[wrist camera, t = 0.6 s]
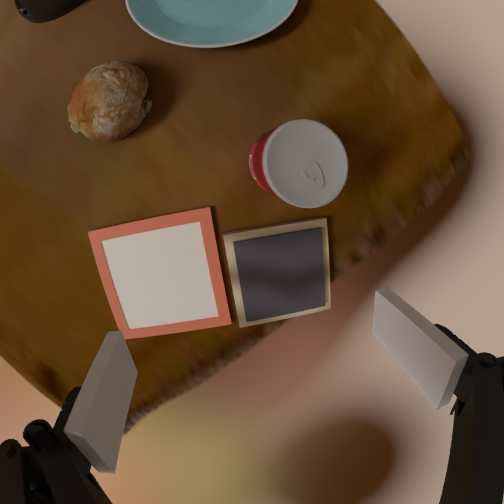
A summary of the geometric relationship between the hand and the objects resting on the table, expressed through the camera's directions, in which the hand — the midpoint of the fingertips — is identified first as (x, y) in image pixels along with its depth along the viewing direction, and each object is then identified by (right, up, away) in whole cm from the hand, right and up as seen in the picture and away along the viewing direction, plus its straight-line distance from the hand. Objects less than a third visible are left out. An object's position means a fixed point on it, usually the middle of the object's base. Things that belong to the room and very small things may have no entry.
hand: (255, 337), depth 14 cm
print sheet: (-12, +1, +22) cm, 25 cm away
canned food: (+3, +15, +20) cm, 25 cm away
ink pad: (+4, +1, +24) cm, 25 cm away
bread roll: (-17, +22, +15) cm, 32 cm away
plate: (-5, +39, +12) cm, 41 cm away
